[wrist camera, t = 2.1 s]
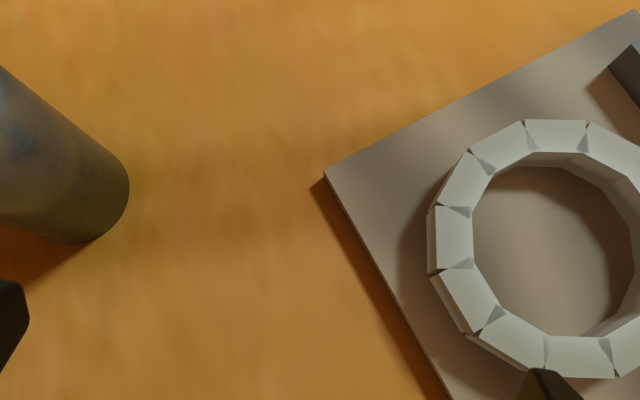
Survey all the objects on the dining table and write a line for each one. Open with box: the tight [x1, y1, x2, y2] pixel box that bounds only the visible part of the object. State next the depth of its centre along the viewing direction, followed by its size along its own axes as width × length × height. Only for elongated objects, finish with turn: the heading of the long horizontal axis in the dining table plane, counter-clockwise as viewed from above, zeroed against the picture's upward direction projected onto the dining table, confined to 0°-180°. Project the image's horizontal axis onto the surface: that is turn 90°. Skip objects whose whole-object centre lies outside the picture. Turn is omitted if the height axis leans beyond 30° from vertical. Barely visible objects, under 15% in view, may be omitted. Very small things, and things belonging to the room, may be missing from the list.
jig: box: [323, 8, 640, 400], centre depth 21 cm, size 18×16×3 cm
